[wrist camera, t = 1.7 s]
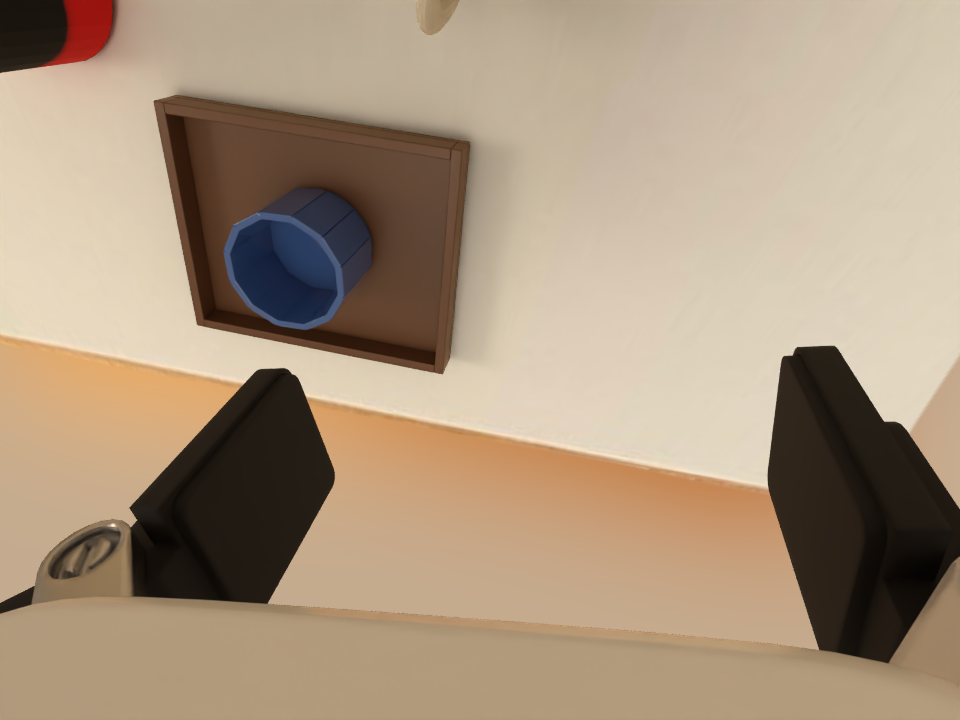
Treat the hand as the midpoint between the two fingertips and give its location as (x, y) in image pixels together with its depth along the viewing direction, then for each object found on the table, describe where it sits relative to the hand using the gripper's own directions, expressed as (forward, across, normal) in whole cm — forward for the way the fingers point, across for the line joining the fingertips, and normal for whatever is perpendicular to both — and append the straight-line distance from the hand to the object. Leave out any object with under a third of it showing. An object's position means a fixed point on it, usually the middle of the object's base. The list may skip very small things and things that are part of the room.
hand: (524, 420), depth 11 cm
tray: (+23, +16, +3) cm, 28 cm away
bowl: (+22, +16, +3) cm, 28 cm away
